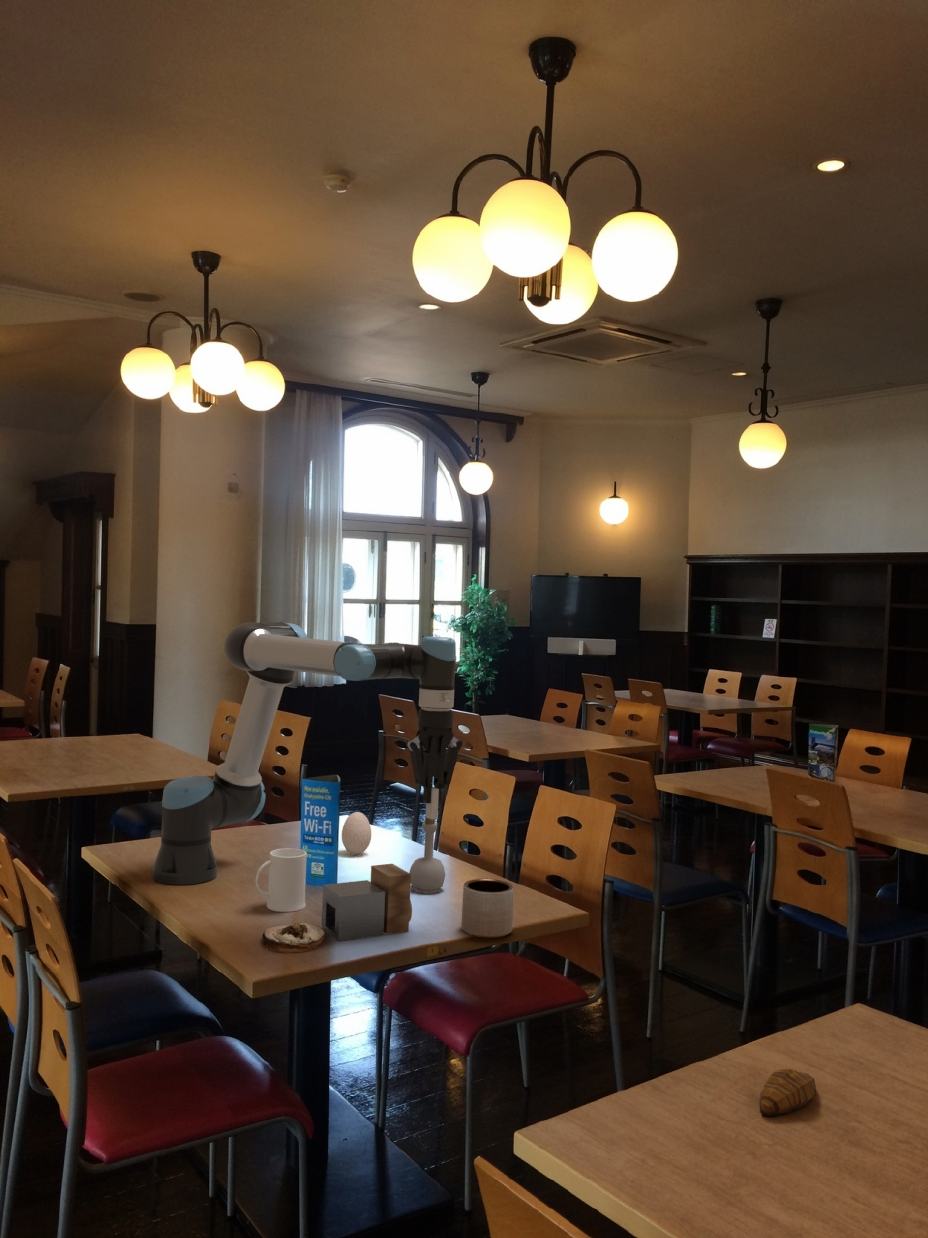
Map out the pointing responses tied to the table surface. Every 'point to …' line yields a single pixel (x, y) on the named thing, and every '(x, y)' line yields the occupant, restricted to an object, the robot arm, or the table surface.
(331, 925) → the block
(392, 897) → the spacer
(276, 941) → the cream tart
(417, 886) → the potion bottle
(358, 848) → the egg
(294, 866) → the mug
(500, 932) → the planter
